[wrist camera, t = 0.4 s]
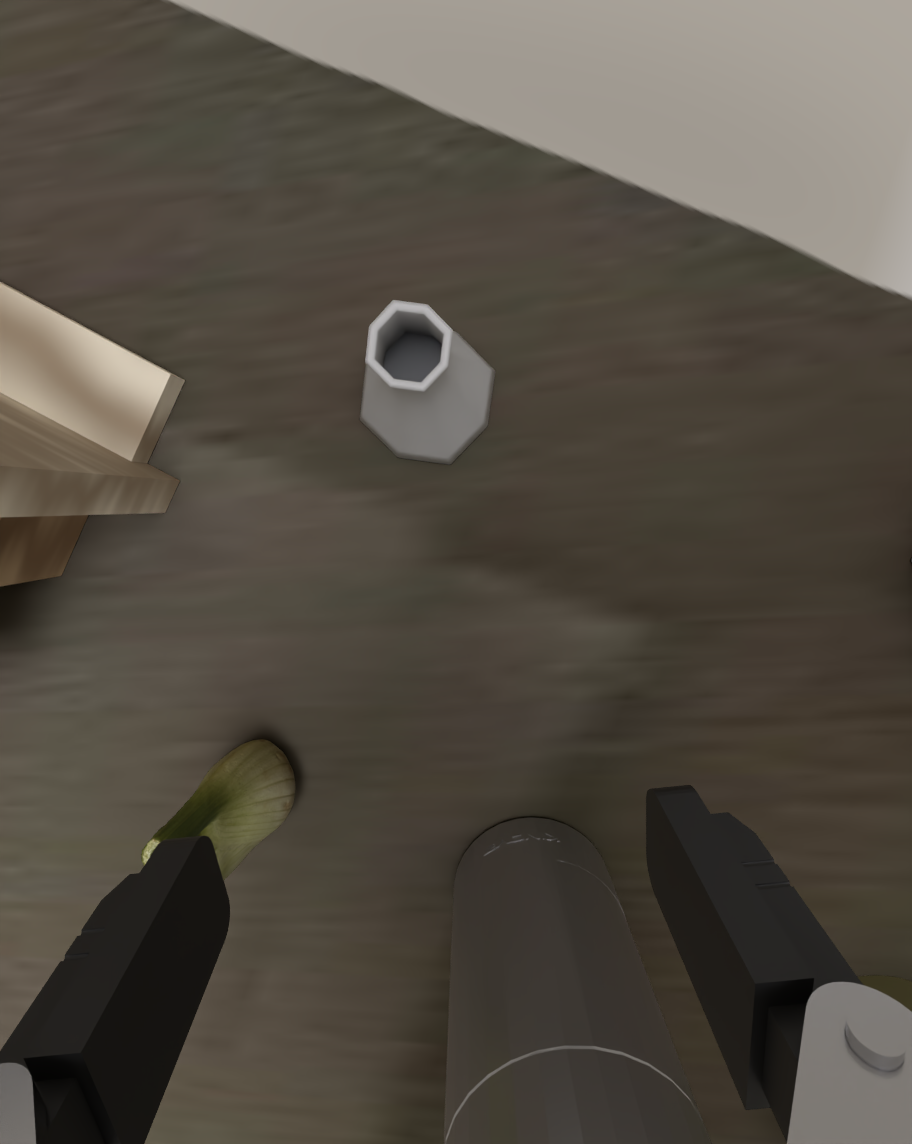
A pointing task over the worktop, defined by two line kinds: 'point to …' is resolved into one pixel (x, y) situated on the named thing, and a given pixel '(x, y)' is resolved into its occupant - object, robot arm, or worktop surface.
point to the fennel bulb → (235, 804)
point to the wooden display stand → (71, 435)
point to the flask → (423, 385)
